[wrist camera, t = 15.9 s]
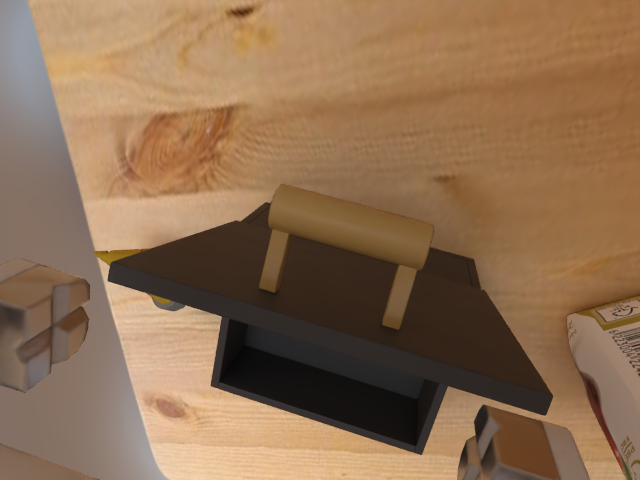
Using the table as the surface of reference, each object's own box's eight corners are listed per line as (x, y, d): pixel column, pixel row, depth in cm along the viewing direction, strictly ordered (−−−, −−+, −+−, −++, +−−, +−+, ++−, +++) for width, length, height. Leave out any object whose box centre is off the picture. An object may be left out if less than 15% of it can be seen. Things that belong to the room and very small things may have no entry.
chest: (422, 402, 41) (421, 455, 35) (239, 344, 43) (210, 386, 37) (474, 259, 36) (482, 293, 30) (265, 201, 38) (237, 224, 32)
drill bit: (182, 306, 43) (67, 278, 36) (205, 249, 43) (95, 210, 37) (213, 327, 39) (91, 299, 32) (238, 264, 40) (123, 224, 33)
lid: (546, 417, 16) (599, 276, 15) (106, 281, 18) (129, 149, 17) (481, 302, 30) (507, 223, 29) (233, 231, 32) (249, 156, 31)
